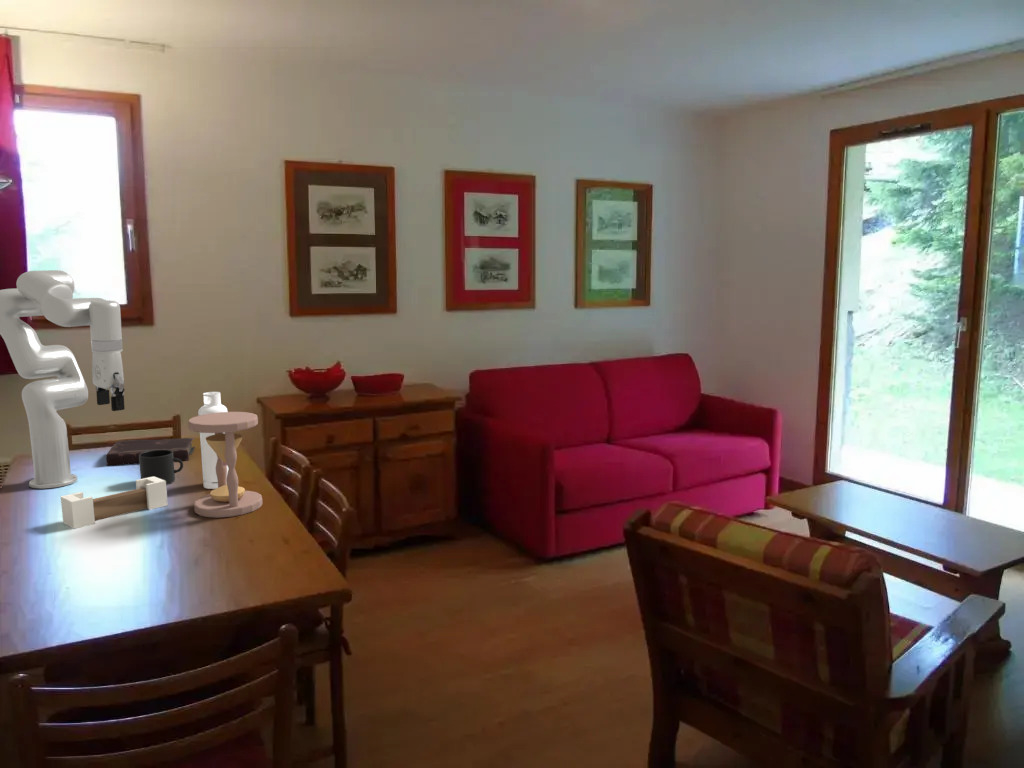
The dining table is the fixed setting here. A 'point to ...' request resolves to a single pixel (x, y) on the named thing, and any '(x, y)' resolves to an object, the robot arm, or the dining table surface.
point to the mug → (159, 465)
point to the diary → (131, 449)
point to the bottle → (206, 451)
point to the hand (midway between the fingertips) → (110, 407)
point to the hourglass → (225, 464)
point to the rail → (120, 503)
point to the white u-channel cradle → (82, 510)
